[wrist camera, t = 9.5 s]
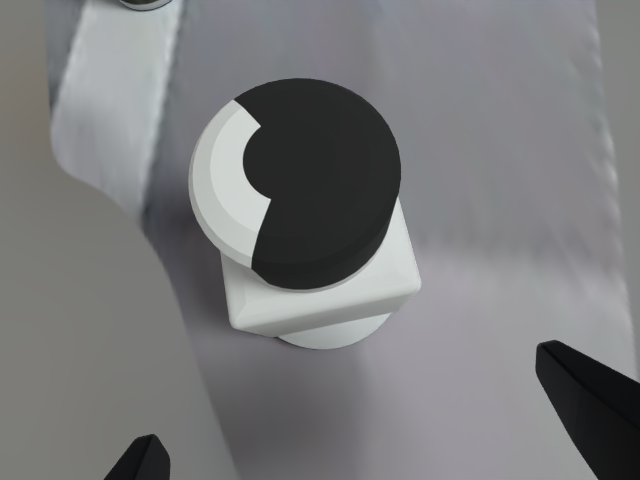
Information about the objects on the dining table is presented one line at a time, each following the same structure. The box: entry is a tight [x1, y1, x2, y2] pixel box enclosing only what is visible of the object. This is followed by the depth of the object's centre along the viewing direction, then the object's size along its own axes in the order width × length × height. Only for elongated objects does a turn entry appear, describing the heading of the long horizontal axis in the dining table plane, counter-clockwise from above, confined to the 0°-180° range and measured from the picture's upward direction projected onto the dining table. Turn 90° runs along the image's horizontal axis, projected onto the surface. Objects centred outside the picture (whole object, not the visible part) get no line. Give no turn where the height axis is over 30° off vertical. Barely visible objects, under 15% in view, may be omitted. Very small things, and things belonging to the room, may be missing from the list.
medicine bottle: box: [188, 78, 421, 337], centre depth 17 cm, size 7×7×12 cm
